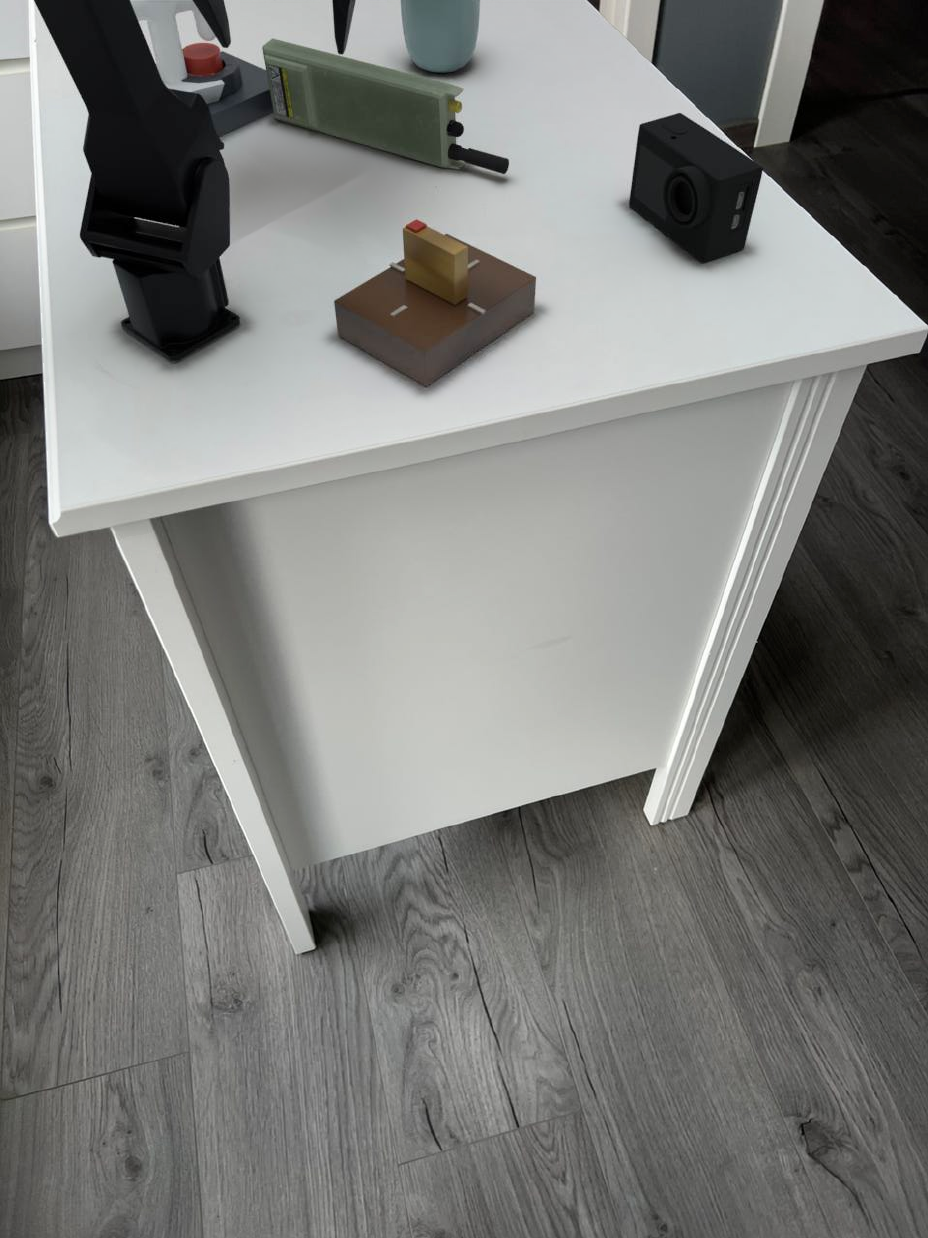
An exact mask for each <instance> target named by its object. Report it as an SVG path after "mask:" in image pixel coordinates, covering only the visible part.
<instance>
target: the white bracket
mask: <svg viewBox="0 0 928 1238" xmlns="http://www.w3.org/2000/svg"><path fill="white" fill-rule="evenodd" d="M130 2H131V4H132V7H133V9H134V12H135V14H136V17H137V19H138V21H139V22H143V21H146V24H147V29H148V32H149V33H148V34H149V37H150V42H151V45H152V50H153V55H154V60H155V64H156V66H157V69H158V71H159V73H160V76H161V78H162V81H163V82H164V84H165V85H166V86H167V87H168V88H169V89H175V90H181V91H187V92H192V93H198V94H200V95H201V96H202V97H203V99H204V100H205V102H206V103H207V104H208V103H212V102H216V101H219V99H220V96H221V93H222V90H223V87H224V84H225V83H224V82H223V81H222V80H218V81H212V82H205V83H191V82H182V81H181V80H183V79H185V78H187V74H188V73H187V71H186V66H185V61H184V56H183V52H182V49H183V48H182V42H181V38H180V33H179V28H178V24H177V18H176V16H177V14H180V13H185V12H189V11H192V14H193V19H194V22H195V27H196V32H197V35H198V36H199V37H200V38H201V39H202V40H203V41H207V42H212V41H214V40H215V39H217V38H216V36H215V35H214V33H213V31H212V30H211V28H210V27H209V25H208V24H207V22H206V20H205V19H204V17H203V16H202V14H201V13H200V11H199V9H198V8H197V7H196V5H195V3H194V2H193V0H130ZM214 74H215V73H214ZM188 75H191V74H188ZM211 75H212V74H211ZM194 76H195V75H194Z"/></svg>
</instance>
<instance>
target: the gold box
mask: <svg viewBox="0 0 928 1238" xmlns="http://www.w3.org/2000/svg"><path fill="white" fill-rule="evenodd" d="M402 241H403V259H404V262H405V278H406V279H407V280H409V281H411V282H413V283H414V284H416V285H418V286H420V287H422V288H424V289H426V290H427V291H429V292H431V293H433V294H435V295H437V296H439V297H440V298H442V299H444V300H446V301H448V302H450V303H452V304H453V305H456V304H458V303H459V302H461V301H462V300H464V299H466V298H467V297H468V247H467V246H465V245H463V244H461V243H459V242H457V241H455V240H453V239H452V238H450V237H448V236H446V235H445V234H444V233H441V232H440V231H438V230H436V229H433V228H432V227H430V226H427V223H425V222H423V221H421V220H419V219H418V218H416V219H415V220H412V221H411V222H409V223H407V224H406V225H405V226H404V227H403V228H402Z"/></svg>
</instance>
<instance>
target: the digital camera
mask: <svg viewBox="0 0 928 1238" xmlns="http://www.w3.org/2000/svg"><path fill="white" fill-rule="evenodd" d="M763 171H764V167H763V166H761V164H759V163H757V162H756V161H755V160H753V159H752V158H750V157H748V156H747V155H745V154H744V153H743V152H741V151H740V150H739V149H737V148H735V147H734V146H733V145H731V144H730V143H728V142H727V141H725V140H723V139H722V138H720V137H718V136H717V135H716V134H714V133H713V132H712V131H709V130H708V129H707V128H705V127H703V126H702V125H700V124H699V123H698V122H696V121H694V120H692V119H691V118H689V117H688V116H687V115H685V114H683V113H682V112H677V113H675V114H670V115H667V116H663V117H660V118H656V119H653V120H650V121H647V122H643V123H640V124H639V126H638V131H637V139H636V147H635V155H634V163H633V171H632V177H631V186H630V193H629V201H628V206H629V207H631V209H633V210H634V211H636V212H637V213H638V214H639V215H641V216H642V217H643V218H644V219H646V221H648V222H650V223H651V224H652V226H654V227H656V228H657V229H658V230H659V231H661V232H662V233H663V234H665V235H666V236H667V237H668V238H670V239H671V240H672V241H673V242H674V243H676V244H677V245H678V246H680V247H681V248H683V249H684V250H685V251H687V252H688V253H689V254H690V255H692V256H693V257H694V258H695V259H697V260H698V261H700V262H701V263H702V264H703V263H704V264H705V263H707V262H710V261H711V262H712V261H713V260H717V259H719V258H721V257H722V258H723V257H726V256H728V255H731V254H733V253H736V252H739V251H742V250H744V249H745V247H746V244H747V243H746V242H747V239H748V234H749V231H750V226H751V222H752V217H753V214H754V209H755V205H756V201H757V198H758V197H757V196H758V193H759V190H760V184H761V180H762V175H763Z"/></svg>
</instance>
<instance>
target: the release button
mask: <svg viewBox="0 0 928 1238" xmlns="http://www.w3.org/2000/svg"><path fill="white" fill-rule="evenodd" d="M182 52H183V56H184V61H185V66H186V71H187V73H188V74H191V75H195V76H205V75H211V74H214V73H218V72H220V71H222V70H223V63H222V58H221V52H222V51H221V48H220V47H219V46H218V45H217V44H214V43H211V42H195V43H191V44H188V45H186V46H184V47H183V48H182Z"/></svg>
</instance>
